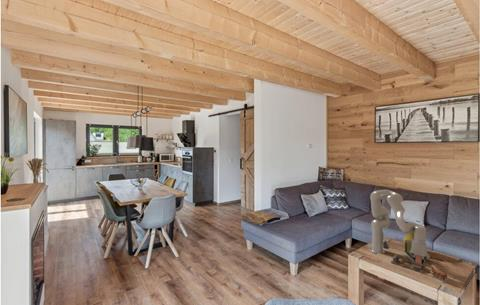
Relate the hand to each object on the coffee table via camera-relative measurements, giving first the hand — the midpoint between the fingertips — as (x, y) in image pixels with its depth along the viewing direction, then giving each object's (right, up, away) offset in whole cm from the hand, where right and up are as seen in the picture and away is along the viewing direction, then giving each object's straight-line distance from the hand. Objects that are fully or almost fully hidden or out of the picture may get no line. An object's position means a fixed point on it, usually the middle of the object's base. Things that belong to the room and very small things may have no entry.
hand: (418, 262), depth 197 cm
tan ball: (-8, -5, +9) cm, 14 cm away
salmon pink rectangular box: (0, -5, +1) cm, 5 cm away
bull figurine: (+6, -8, -11) cm, 15 cm away
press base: (-5, -6, +6) cm, 10 cm away
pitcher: (+20, -5, +33) cm, 39 cm away
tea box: (+10, -6, +18) cm, 21 cm away
